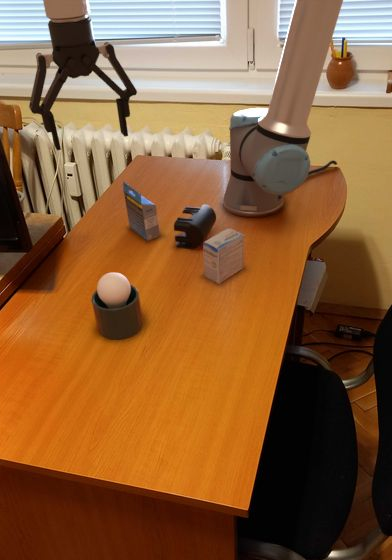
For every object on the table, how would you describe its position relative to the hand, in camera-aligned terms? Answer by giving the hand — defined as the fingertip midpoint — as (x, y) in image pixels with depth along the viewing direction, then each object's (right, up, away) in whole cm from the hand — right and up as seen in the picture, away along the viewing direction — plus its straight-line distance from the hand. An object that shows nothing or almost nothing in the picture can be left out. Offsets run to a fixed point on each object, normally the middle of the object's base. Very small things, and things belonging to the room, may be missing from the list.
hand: (91, 141), depth 109 cm
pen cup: (+6, -37, -2) cm, 37 cm away
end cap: (+21, -15, +21) cm, 33 cm away
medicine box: (+27, -25, +10) cm, 38 cm away
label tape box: (+8, -13, +25) cm, 29 cm away
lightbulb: (+6, -36, -2) cm, 37 cm away
